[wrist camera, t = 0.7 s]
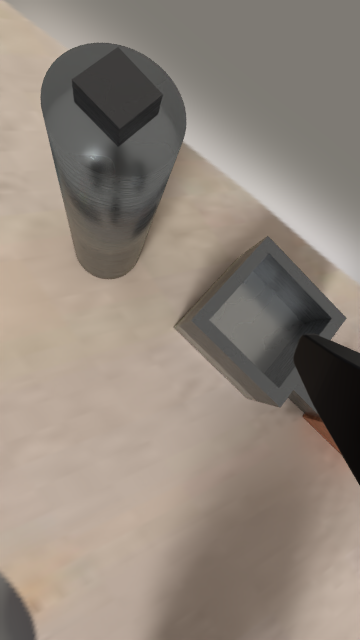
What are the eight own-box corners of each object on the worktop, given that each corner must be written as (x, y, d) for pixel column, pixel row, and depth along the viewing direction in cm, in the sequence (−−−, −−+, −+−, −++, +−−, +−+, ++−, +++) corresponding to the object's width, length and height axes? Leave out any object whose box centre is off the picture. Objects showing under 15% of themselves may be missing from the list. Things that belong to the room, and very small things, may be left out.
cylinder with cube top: (108, 291, 22) (121, 190, 9) (60, 246, 22) (-3, 67, 8) (151, 250, 23) (221, 103, 10) (107, 206, 23) (116, -10, 9)
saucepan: (340, 488, 25) (392, 516, 20) (173, 327, 23) (190, 320, 18) (389, 411, 26) (445, 422, 22) (238, 257, 25) (267, 235, 20)
